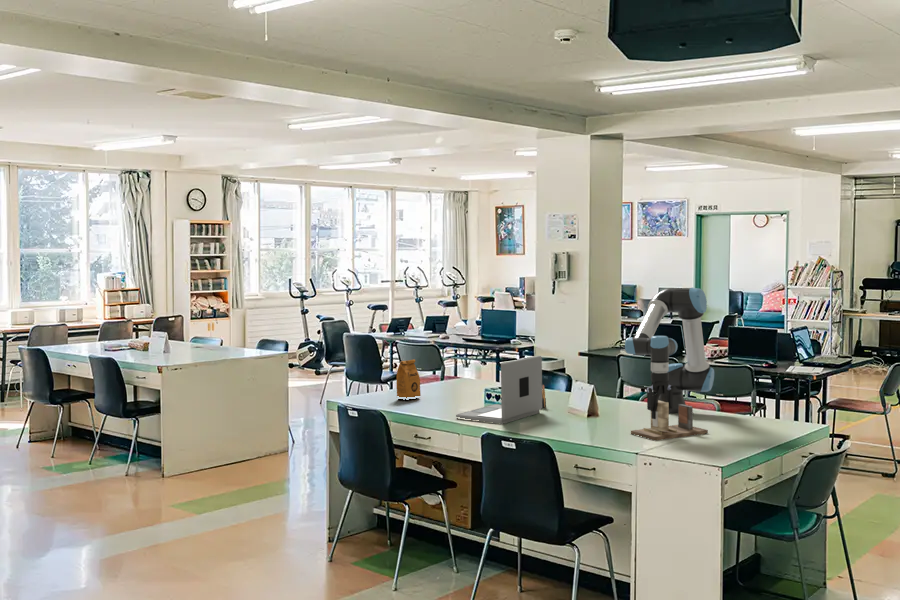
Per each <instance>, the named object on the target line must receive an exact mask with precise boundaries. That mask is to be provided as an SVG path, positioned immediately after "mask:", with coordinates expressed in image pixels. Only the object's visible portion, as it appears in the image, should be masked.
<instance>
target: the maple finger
mask: <svg viewBox="0 0 900 600" xmlns="http://www.w3.org/2000/svg"><path fill="white" fill-rule="evenodd" d="M656 411H657V412H658V427H655V426H653V419H652V418H651V417H650V428H651V429H654V430H658V431H668V430H669V426H670V424H669V422H670V421H669V419H670V417H669V415H670V413H669V403H668V402H663V401H659V400H658V405H657V410H656Z"/></svg>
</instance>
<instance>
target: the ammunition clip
mask: <svg viewBox="0 0 900 600" xmlns="http://www.w3.org/2000/svg"><path fill="white" fill-rule="evenodd" d="M545 391H546V389H545V385H544V384H542V409H546V408H547V401H546V400H547V397H546V392H545Z"/></svg>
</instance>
